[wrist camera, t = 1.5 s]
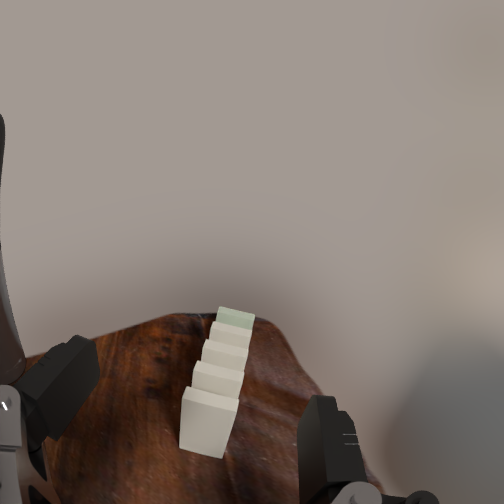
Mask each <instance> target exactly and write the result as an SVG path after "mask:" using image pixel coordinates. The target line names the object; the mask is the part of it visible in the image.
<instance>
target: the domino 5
mask: <svg viewBox="0 0 504 504" xmlns="http://www.w3.org/2000/svg"><path fill="white" fill-rule="evenodd" d="M238 403H239V399H234V398H230V397H226V396H222V395H218V394H214V393H210V392H206V391H202V390H198V389H195V388H191V387H188V386H187V387H186V390H185V392H184V394H183V397H182V406H181V423H180V443H179V448H182V449H185V450H189V451H192V452H196V453H200V454H204V455H208V456H212V457H216V458H220V459H222V457H223V454H224V451H225V448H226V445H227V442H228V439H229V435H230V432H231V429H232V426H233V422H234V419H235V416H236V413H237V408H238Z"/></svg>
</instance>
